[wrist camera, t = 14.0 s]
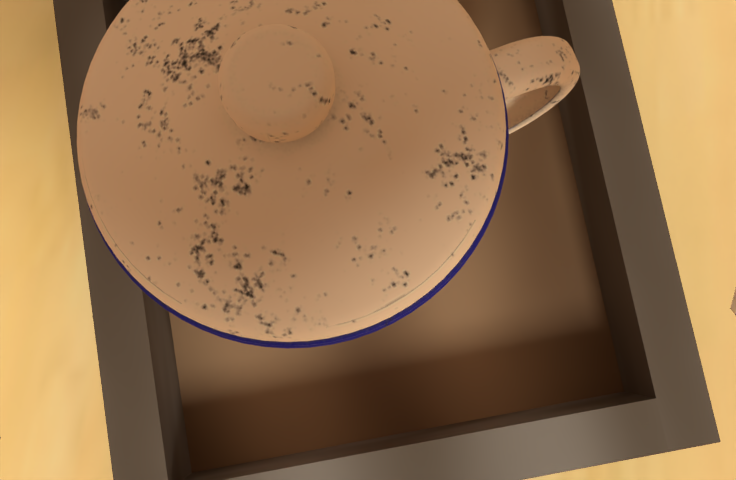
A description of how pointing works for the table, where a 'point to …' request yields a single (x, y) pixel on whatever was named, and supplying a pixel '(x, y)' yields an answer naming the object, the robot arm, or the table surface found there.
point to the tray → (438, 317)
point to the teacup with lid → (302, 156)
